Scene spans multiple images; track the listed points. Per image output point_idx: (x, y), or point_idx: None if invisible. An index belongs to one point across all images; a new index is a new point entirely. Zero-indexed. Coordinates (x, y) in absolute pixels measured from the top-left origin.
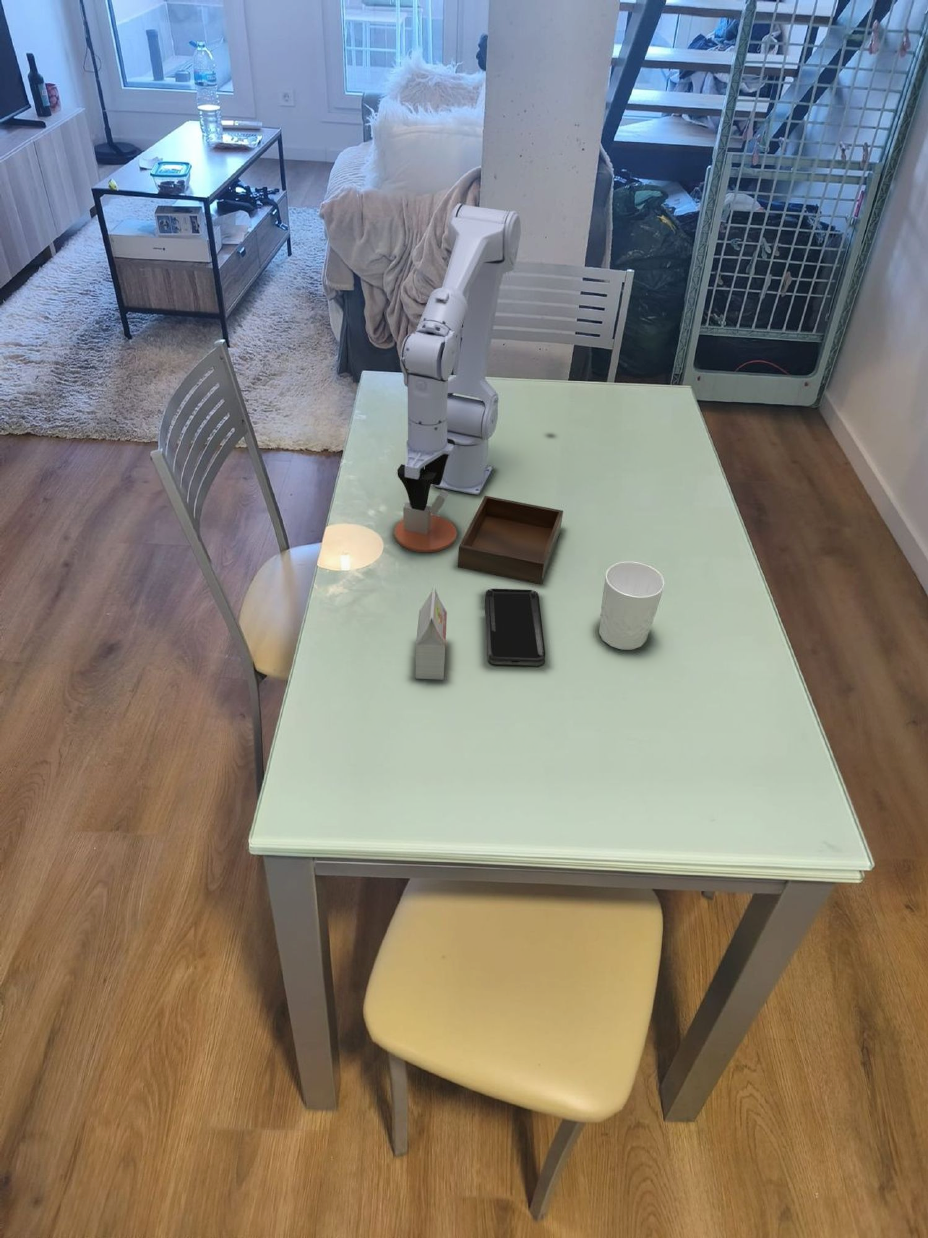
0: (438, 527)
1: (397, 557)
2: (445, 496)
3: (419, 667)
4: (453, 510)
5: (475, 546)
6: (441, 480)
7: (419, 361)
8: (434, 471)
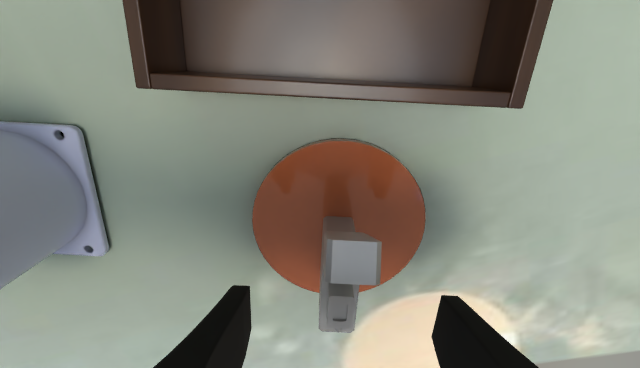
0: (310, 198)
1: (453, 257)
2: (370, 251)
3: None
4: (196, 178)
5: (373, 66)
6: (230, 294)
7: None
8: (230, 361)
